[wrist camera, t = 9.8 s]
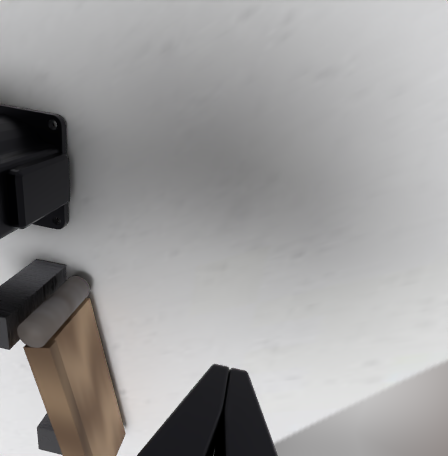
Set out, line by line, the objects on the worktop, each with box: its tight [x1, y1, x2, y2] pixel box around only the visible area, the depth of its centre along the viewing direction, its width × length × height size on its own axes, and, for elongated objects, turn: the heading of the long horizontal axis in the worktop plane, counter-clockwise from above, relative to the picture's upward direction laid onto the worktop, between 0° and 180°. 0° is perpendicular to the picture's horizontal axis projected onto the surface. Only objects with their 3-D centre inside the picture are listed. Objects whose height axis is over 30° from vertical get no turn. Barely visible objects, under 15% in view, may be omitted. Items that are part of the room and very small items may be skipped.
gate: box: [17, 276, 125, 456], centre depth 23 cm, size 14×2×5 cm, turn 5°
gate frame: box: [0, 259, 67, 455], centre depth 22 cm, size 2×12×6 cm, turn 6°
